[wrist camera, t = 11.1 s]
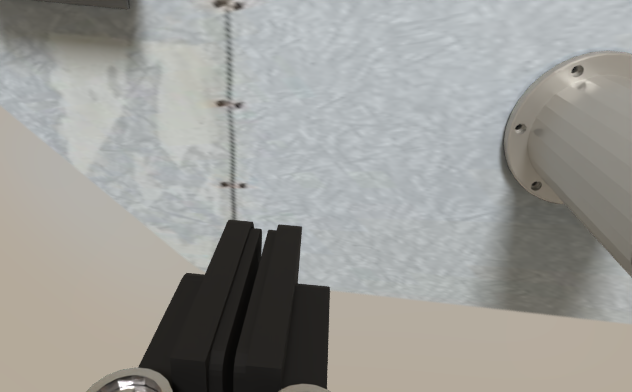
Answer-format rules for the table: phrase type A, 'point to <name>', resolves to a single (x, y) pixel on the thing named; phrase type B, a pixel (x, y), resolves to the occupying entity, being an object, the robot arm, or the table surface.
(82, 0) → the mat
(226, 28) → the table surface
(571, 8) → the table surface
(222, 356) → the robot arm
